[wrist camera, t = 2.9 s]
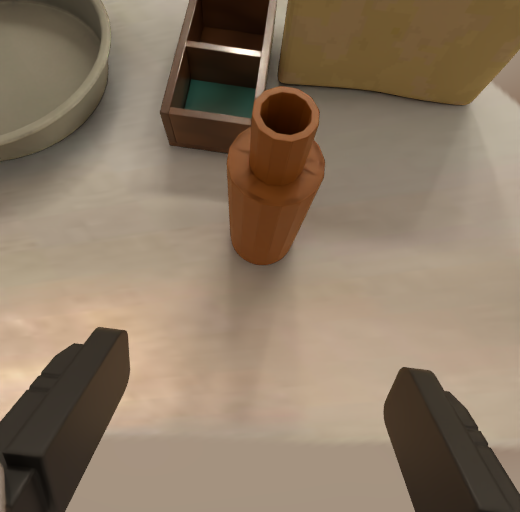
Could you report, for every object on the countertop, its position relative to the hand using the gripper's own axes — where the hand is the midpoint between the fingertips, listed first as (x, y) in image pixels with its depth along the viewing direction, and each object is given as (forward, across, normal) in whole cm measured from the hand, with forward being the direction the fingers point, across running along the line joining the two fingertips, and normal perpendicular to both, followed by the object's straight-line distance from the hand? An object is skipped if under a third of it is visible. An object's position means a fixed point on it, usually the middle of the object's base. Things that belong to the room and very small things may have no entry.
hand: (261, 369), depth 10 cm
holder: (+33, +6, -7) cm, 34 cm away
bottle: (+21, 0, +5) cm, 22 cm away
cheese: (+36, -11, -10) cm, 39 cm away
